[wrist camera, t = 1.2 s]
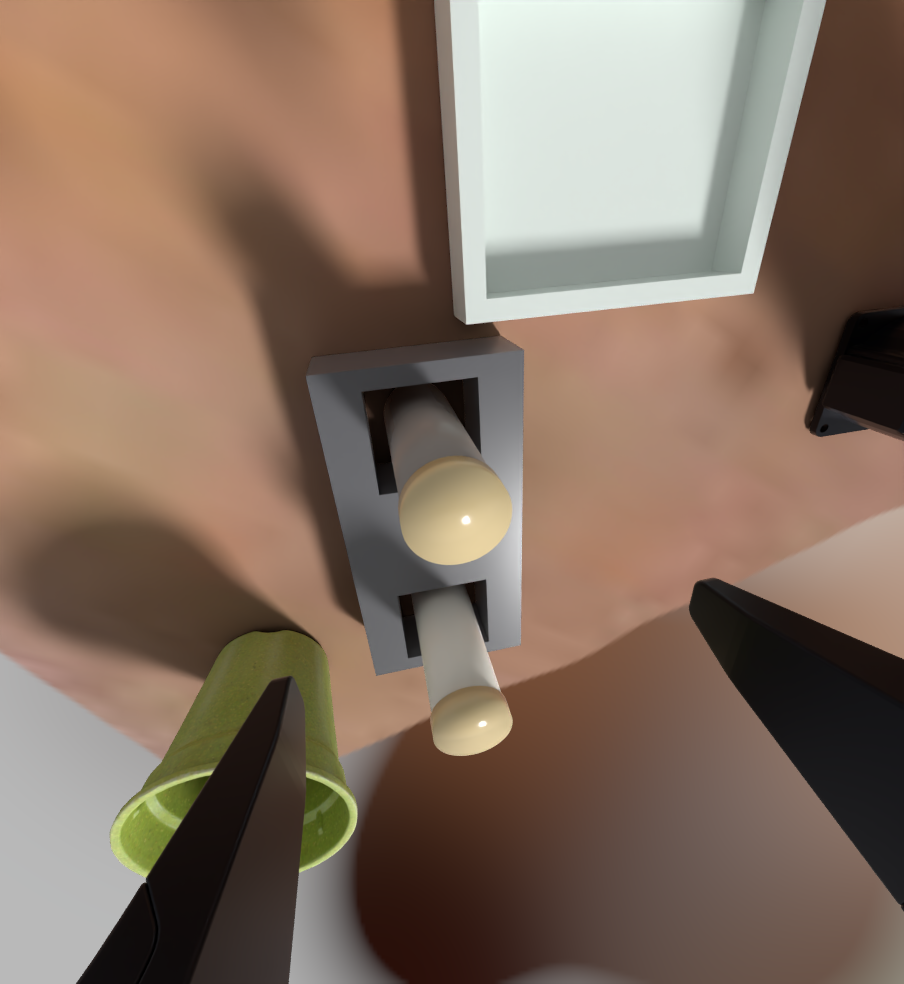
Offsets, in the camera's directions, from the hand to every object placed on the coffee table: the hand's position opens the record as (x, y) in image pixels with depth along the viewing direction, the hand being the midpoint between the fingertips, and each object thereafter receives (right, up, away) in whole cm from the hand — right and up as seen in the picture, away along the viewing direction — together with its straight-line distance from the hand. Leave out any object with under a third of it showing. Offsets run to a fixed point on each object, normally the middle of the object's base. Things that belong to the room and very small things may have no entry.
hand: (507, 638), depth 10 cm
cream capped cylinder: (-3, +7, +11) cm, 13 cm away
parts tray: (+4, +16, +7) cm, 18 cm away
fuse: (-2, -2, +16) cm, 16 cm away
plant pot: (-12, -7, +16) cm, 21 cm away
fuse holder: (-2, +2, +13) cm, 14 cm away
